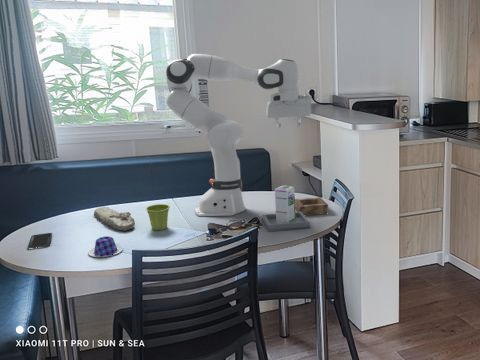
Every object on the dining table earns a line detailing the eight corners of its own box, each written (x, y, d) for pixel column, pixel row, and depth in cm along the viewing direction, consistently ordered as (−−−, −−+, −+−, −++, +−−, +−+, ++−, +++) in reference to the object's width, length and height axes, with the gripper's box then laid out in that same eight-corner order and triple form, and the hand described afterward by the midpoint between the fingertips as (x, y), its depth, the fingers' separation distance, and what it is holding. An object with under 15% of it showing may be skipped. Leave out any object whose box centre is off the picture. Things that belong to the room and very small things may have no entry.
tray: (268, 231, 186) (268, 225, 185) (262, 220, 200) (262, 214, 199) (309, 228, 188) (309, 221, 187) (301, 217, 201) (301, 211, 201)
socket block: (300, 216, 203) (299, 206, 202) (293, 208, 215) (293, 199, 214) (328, 213, 204) (328, 204, 203) (320, 205, 216) (320, 197, 215)
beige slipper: (110, 213, 225) (89, 219, 220) (108, 202, 224) (87, 208, 219) (141, 227, 197) (118, 234, 192) (139, 215, 196) (116, 221, 191)
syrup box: (288, 225, 189) (287, 189, 186) (275, 223, 193) (274, 187, 189) (295, 221, 194) (294, 186, 190) (282, 219, 197) (281, 184, 194)
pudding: (108, 244, 181) (106, 231, 180) (130, 250, 175) (128, 236, 173) (81, 255, 172) (79, 241, 171) (103, 261, 165) (102, 247, 164)
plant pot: (176, 226, 198) (174, 205, 196) (160, 233, 190) (158, 212, 188) (159, 223, 203) (157, 203, 201) (142, 229, 195) (140, 209, 193)
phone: (27, 248, 179) (31, 235, 193) (27, 250, 179) (32, 237, 193) (50, 244, 181) (52, 232, 195) (50, 247, 181) (53, 235, 195)
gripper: (309, 94, 223) (309, 124, 226) (265, 96, 221) (266, 127, 224) (312, 95, 217) (313, 126, 220) (267, 97, 214) (268, 128, 218)
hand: (289, 126), depth 222 cm, fingers open, 8 cm apart
